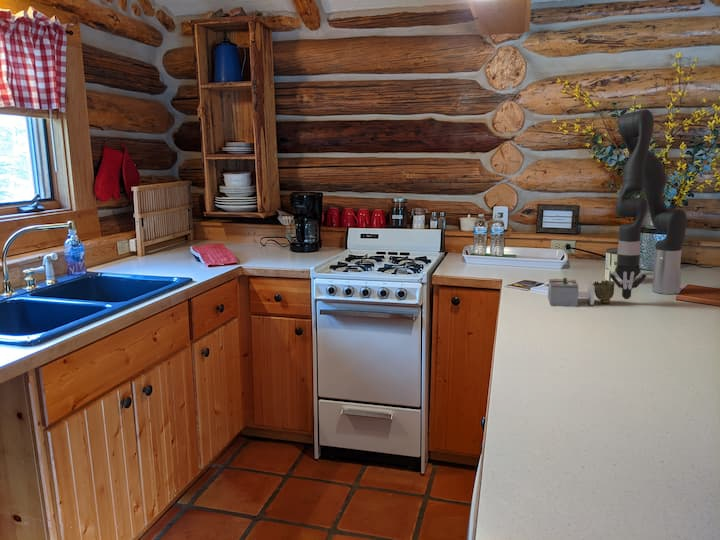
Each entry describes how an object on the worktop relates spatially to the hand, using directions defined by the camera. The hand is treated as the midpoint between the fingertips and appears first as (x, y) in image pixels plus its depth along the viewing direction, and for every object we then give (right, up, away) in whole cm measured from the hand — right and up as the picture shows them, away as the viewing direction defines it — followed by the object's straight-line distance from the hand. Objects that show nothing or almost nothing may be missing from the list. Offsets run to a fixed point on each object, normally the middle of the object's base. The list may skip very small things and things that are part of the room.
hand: (626, 298), depth 216 cm
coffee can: (+13, +5, +37) cm, 39 cm away
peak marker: (-22, +6, +2) cm, 23 cm away
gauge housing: (-22, -2, +6) cm, 22 cm away
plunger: (-16, -1, +4) cm, 17 cm away
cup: (-7, -2, +2) cm, 8 cm away
